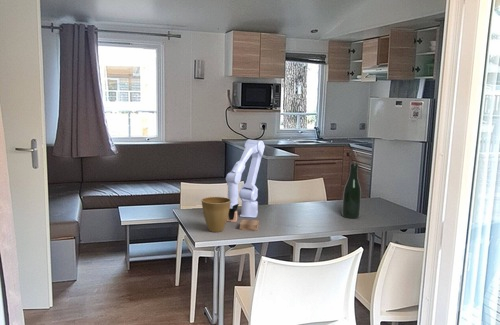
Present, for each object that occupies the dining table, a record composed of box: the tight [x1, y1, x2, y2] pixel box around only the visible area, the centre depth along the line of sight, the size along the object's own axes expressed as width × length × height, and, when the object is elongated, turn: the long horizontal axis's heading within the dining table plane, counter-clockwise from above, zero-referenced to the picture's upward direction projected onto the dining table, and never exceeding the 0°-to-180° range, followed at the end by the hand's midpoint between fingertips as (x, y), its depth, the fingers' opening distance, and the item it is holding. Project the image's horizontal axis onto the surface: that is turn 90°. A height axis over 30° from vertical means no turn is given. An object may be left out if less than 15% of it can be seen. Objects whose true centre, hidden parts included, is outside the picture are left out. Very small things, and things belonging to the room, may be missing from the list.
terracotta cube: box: [226, 210, 238, 223], centre depth 253 cm, size 5×5×5 cm
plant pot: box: [201, 196, 231, 233], centre depth 233 cm, size 15×15×16 cm
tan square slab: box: [239, 219, 260, 232], centre depth 241 cm, size 9×9×3 cm
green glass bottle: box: [341, 160, 362, 219], centre depth 268 cm, size 10×10×33 cm
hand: (232, 218), depth 253 cm, fingers closed on terracotta cube, 5 cm apart
